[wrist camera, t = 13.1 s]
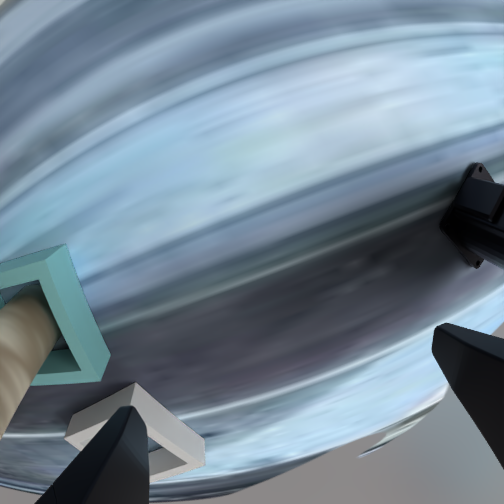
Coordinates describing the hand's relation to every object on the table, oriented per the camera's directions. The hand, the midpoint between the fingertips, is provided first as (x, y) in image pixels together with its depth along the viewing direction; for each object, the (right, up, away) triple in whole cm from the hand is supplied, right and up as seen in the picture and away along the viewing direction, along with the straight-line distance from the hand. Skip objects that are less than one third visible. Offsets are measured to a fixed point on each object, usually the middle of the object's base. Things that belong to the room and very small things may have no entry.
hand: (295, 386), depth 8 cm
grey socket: (-11, -12, +15) cm, 23 cm away
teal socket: (-16, -1, +11) cm, 20 cm away
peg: (-16, -1, +11) cm, 20 cm away
